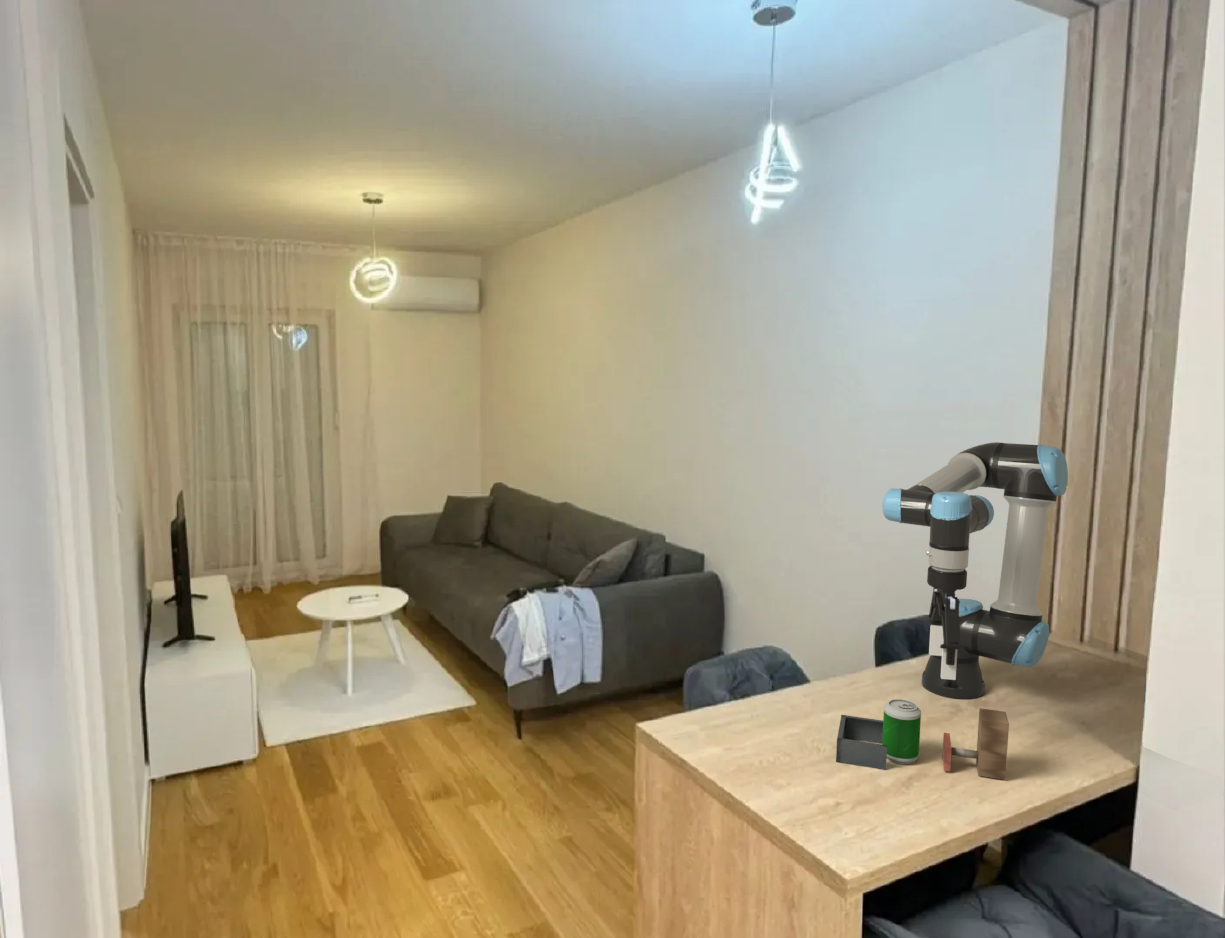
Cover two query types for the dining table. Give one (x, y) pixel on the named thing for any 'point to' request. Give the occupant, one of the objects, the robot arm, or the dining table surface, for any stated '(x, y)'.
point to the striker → (984, 745)
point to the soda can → (901, 731)
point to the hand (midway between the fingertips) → (941, 666)
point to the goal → (859, 750)
